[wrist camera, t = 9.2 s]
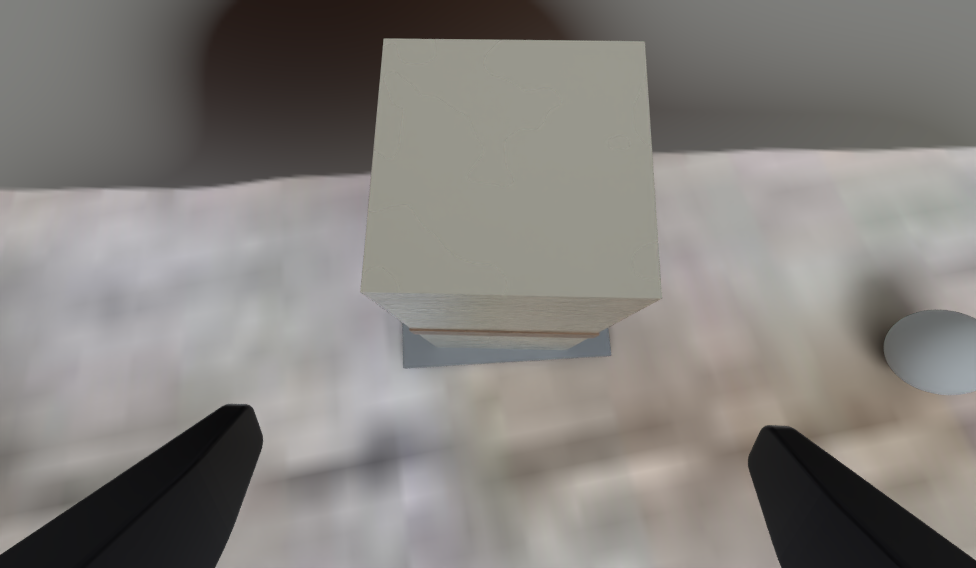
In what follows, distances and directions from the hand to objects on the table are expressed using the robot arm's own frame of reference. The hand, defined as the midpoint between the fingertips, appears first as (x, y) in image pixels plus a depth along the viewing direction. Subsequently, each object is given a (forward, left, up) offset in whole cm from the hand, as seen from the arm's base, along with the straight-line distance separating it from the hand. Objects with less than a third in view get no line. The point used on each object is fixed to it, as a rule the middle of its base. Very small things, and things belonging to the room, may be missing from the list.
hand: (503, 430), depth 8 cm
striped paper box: (+3, +3, -9) cm, 10 cm away
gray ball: (+12, -10, -8) cm, 18 cm away
